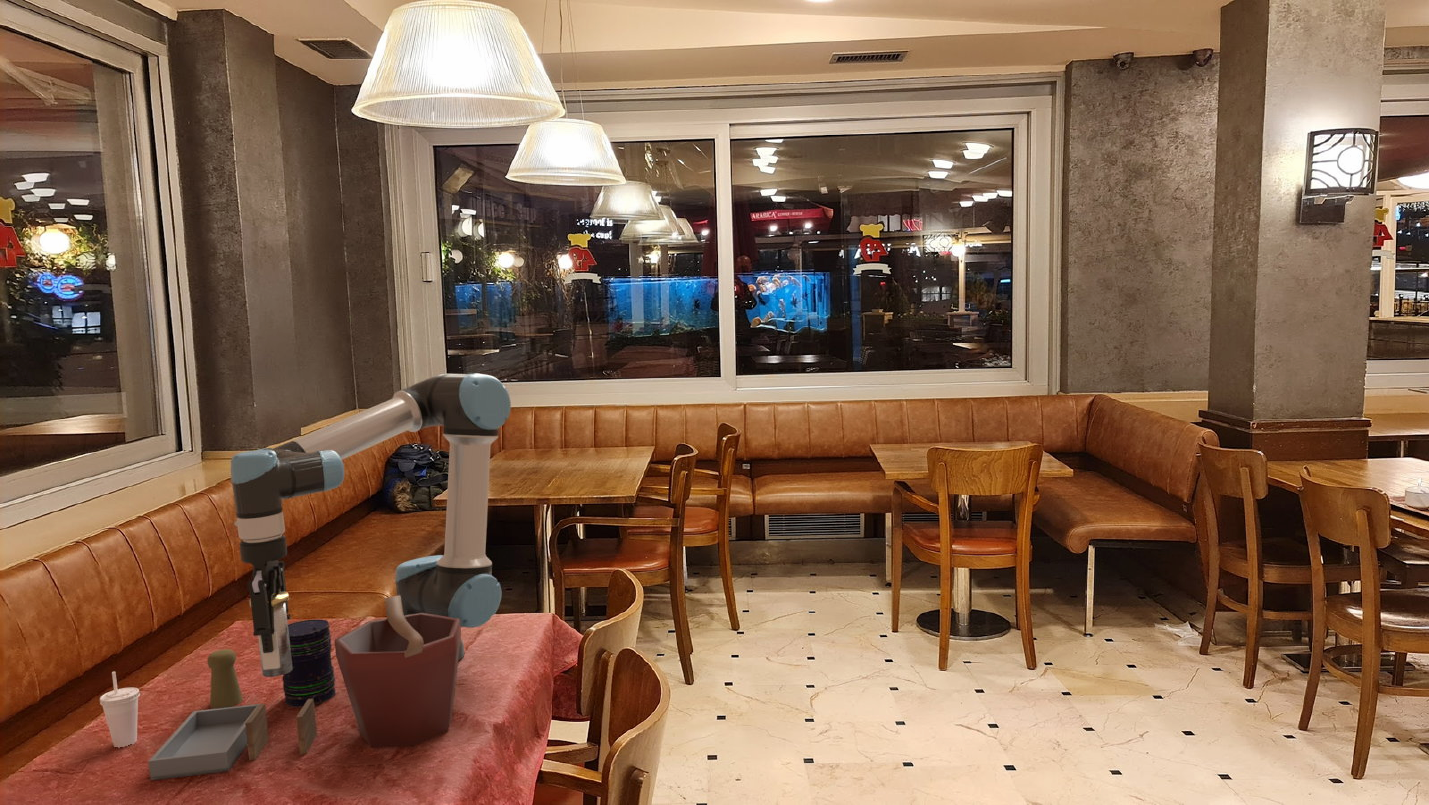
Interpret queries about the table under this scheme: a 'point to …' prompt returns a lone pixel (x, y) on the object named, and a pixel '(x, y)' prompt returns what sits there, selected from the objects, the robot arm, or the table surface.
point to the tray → (203, 743)
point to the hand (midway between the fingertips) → (276, 662)
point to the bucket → (401, 675)
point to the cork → (223, 679)
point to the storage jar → (309, 664)
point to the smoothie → (121, 714)
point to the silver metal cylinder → (280, 636)
